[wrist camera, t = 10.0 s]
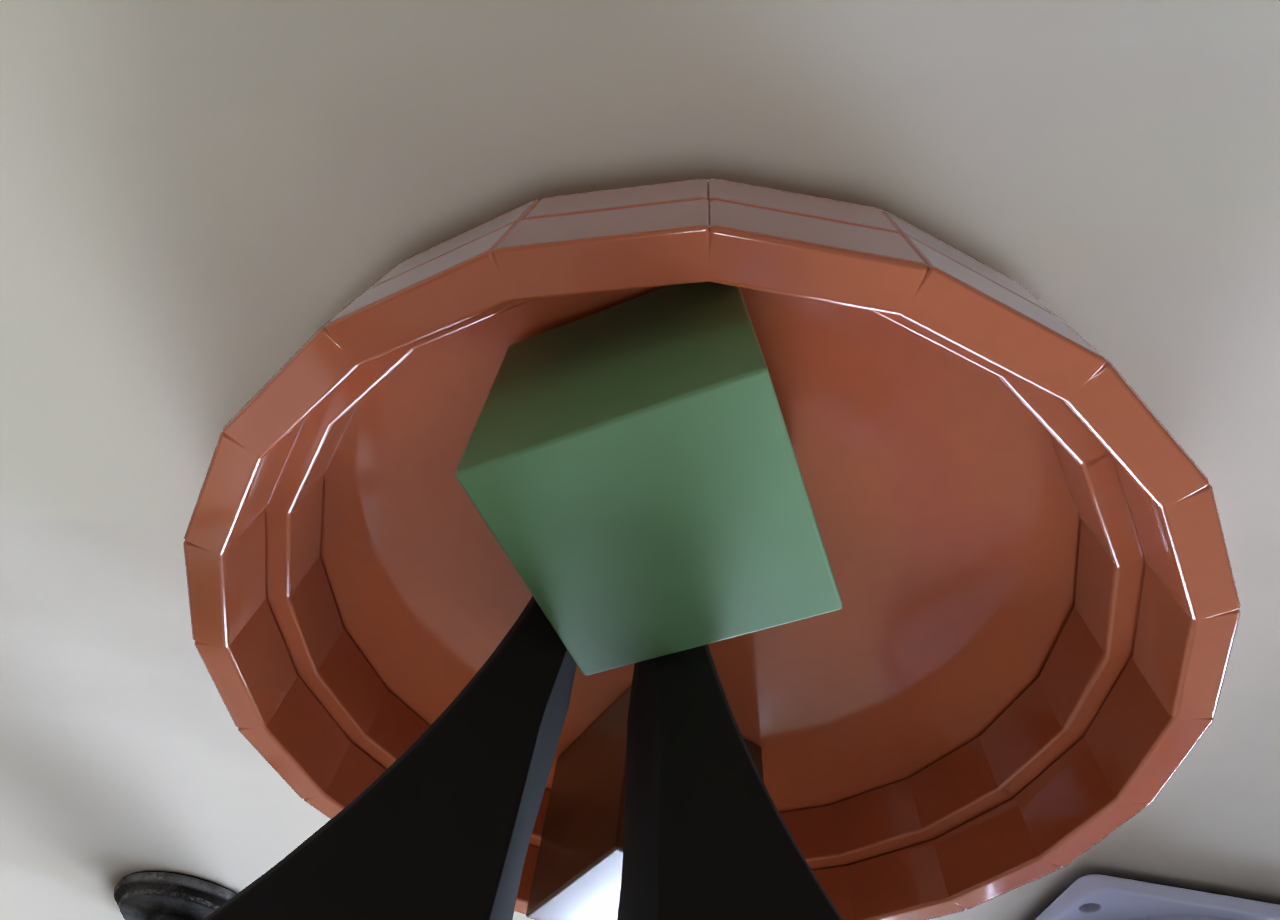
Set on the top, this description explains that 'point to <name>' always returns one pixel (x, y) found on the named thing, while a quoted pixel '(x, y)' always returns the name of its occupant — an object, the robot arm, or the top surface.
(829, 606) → the sage-green cube
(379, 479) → the bowl
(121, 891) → the dark grey tiered piece
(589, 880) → the walnut cube
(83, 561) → the top surface
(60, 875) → the top surface
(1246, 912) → the robot arm
